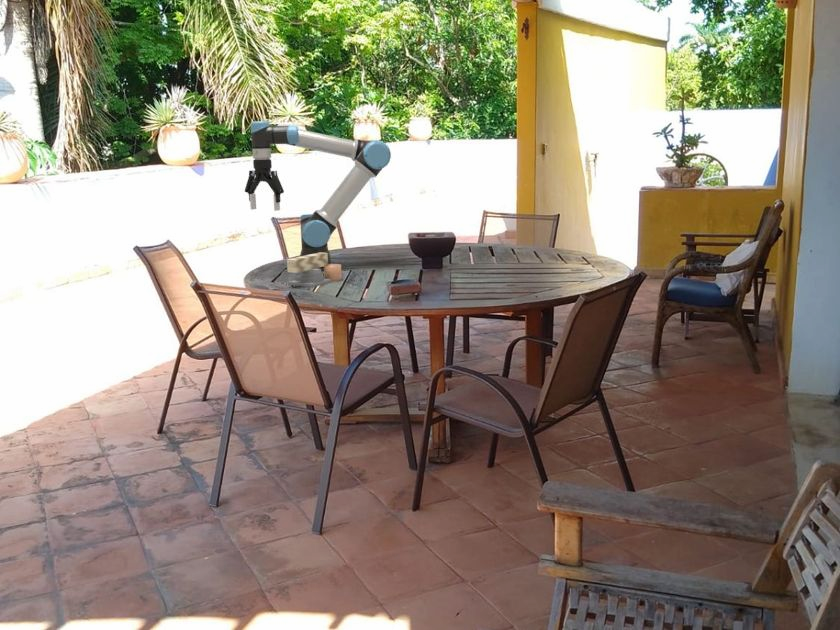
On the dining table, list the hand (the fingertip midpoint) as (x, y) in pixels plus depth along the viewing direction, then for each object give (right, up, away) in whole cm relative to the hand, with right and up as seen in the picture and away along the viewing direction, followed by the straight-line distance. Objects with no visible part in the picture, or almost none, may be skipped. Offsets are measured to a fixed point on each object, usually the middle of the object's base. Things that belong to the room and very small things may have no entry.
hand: (265, 209), depth 343 cm
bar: (+22, -26, -24) cm, 42 cm away
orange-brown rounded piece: (+31, -30, -15) cm, 46 cm away
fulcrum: (+22, -32, -23) cm, 45 cm away
